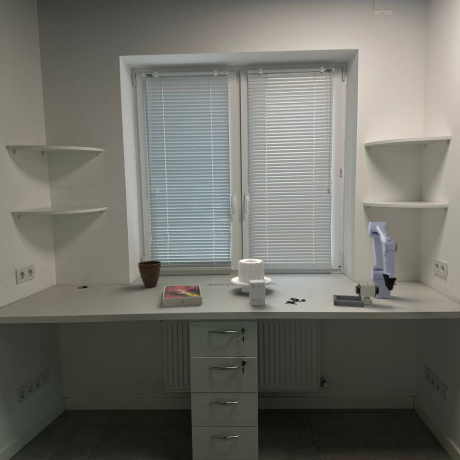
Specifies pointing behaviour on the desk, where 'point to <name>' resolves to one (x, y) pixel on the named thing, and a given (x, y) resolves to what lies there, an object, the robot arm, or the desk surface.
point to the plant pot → (150, 272)
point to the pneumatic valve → (366, 292)
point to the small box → (256, 292)
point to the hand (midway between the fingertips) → (389, 288)
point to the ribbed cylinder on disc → (250, 273)
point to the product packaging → (182, 295)
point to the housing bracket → (353, 301)
